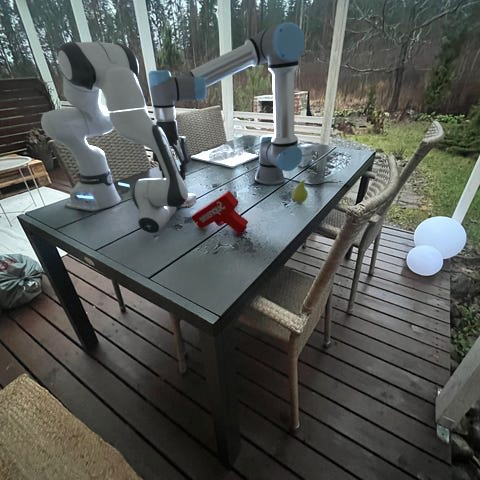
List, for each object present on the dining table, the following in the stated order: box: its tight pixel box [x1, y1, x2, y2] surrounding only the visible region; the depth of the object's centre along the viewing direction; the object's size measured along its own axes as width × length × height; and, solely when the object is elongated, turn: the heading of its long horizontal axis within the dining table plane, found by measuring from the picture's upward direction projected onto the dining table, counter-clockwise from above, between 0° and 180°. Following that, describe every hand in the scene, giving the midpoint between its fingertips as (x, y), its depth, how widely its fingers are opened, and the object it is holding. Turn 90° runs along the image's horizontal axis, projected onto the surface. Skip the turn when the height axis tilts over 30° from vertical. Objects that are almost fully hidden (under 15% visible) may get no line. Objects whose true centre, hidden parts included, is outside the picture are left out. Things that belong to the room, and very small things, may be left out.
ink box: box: [297, 143, 314, 168], centre depth 163 cm, size 8×5×12 cm, turn 135°
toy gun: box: [190, 190, 249, 236], centre depth 99 cm, size 18×4×15 cm
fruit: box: [291, 174, 311, 204], centre depth 118 cm, size 7×8×12 cm
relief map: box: [190, 143, 259, 169], centre depth 179 cm, size 27×35×5 cm
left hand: (176, 191), depth 116 cm, fingers closed on jar, 5 cm apart
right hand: (174, 179), depth 112 cm, fingers open, 7 cm apart
